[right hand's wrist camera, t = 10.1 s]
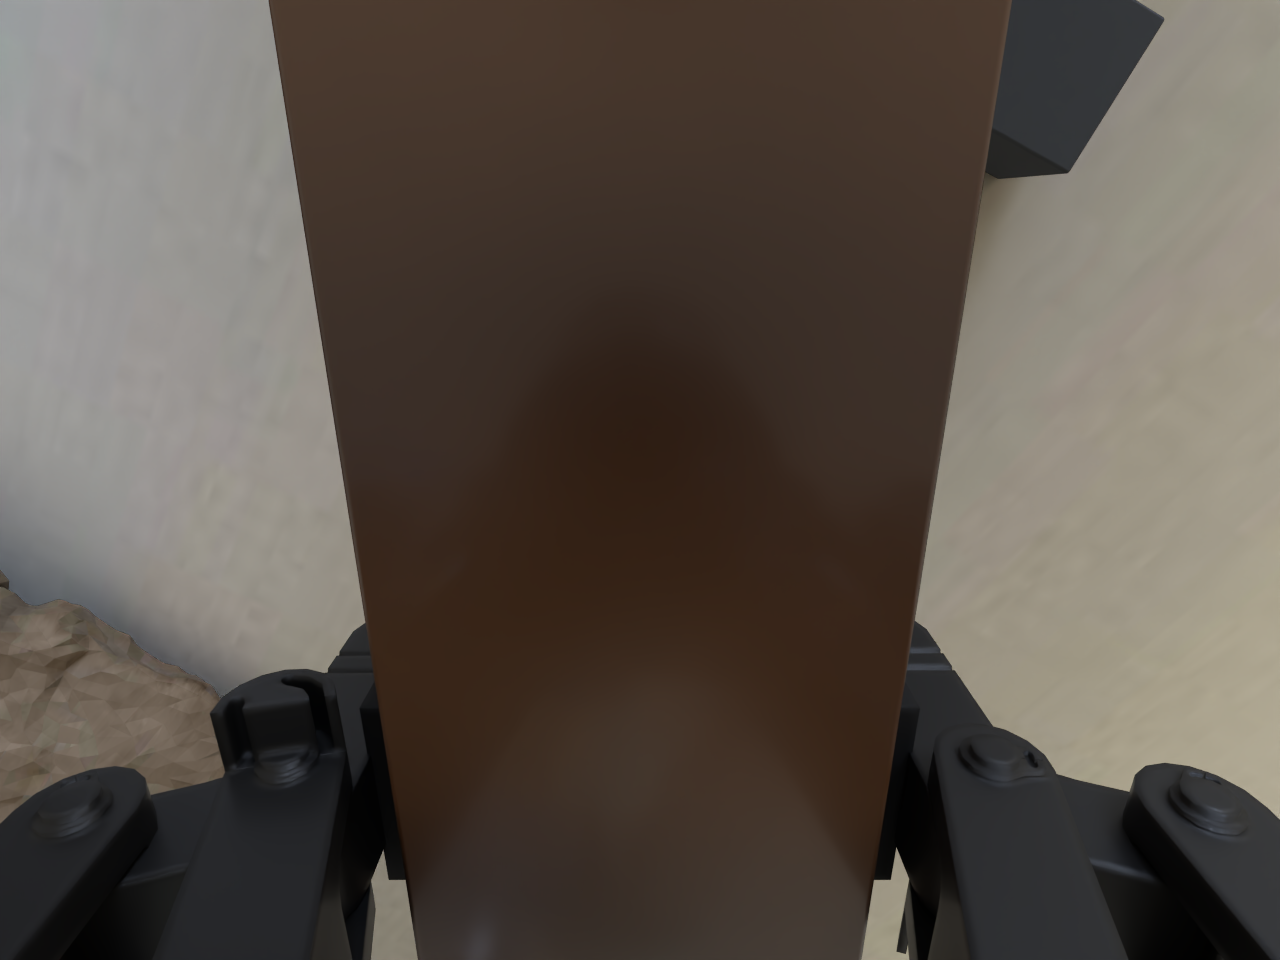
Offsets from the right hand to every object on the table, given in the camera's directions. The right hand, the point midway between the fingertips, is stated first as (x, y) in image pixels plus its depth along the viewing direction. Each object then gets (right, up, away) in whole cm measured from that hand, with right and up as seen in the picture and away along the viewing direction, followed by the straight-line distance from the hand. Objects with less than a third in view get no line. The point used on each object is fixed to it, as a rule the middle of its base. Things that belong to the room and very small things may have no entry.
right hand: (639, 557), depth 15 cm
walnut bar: (0, +9, -3) cm, 9 cm away
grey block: (+11, +14, +7) cm, 19 cm away
